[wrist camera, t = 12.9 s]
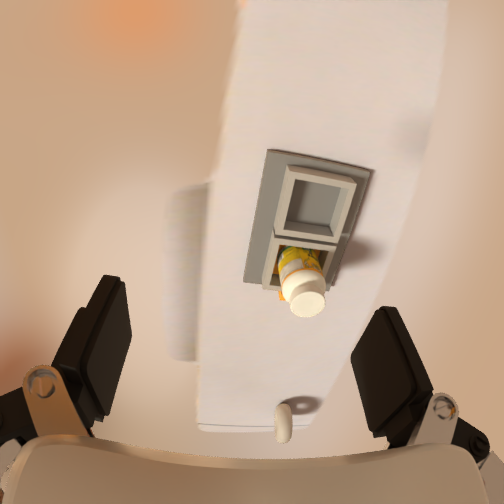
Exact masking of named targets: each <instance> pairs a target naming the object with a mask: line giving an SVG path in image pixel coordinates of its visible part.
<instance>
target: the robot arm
mask: <svg viewBox="0 0 504 504" xmlns="http://www.w3.org/2000/svg"><path fill="white" fill-rule="evenodd" d="M131 338H132V331H131V325H130V318H129V311H128V304H127V296H126V288H125V283H124V282H122V281H121V280H120V277H117V276H110V275H103V277H102V278H101V280H100V282H99V284H98V286H97V288H96V290H95V291H94V293H93V295H92V297H91V299H90V301H89V303H88V305H87V307H86V308H84V307H81V308H80V309H79V310H78V311H77V313H76V315H75V317H74V319H73V321H72V323H71V325H70V327H69V329H68V331H67V333H66V335H65V337H64V339H63V341H62V343H61V345H60V347H59V349H58V351H57V353H56V356H55V358H54V360H53V362H52V364H51V366H49V365H38V366H35V367H33V368H31V369H30V370H29V371H28V372H27V373H26V375H25V377H24V379H23V384H22V386H23V387H20V388H18V389H16V390H14V391H11V392H9V393H7V394H4V395H3V396H0V482H1V477H2V475H3V474H4V473H5V472H6V471H7V470H8V467H7V466H8V465H9V464H10V463H11V462H12V461H14V463H13V466H12V468H11V471H10V474H9V477H8V480H7V483H6V487H5V492H3V490H2V488H1V483H0V504H504V463H503V462H502V461H501V460H500V459H499V458H498V456H497V455H496V454H495V453H494V452H493V451H491V452H489V449H490V445H489V441H488V438H487V437H486V435H485V434H484V433H482V432H481V431H479V430H478V429H476V428H475V427H473V426H471V425H470V424H469V423H467V422H465V421H464V420H462V419H461V418H459V417H458V414H459V411H458V406H457V404H456V402H455V401H454V399H453V398H452V397H450V396H449V395H447V394H445V393H436V394H435V395H433V393H432V391H433V390H434V389H433V387H432V384H431V382H430V379H429V377H428V374H427V372H426V370H425V367H424V365H423V363H422V361H421V358H420V356H419V354H418V352H417V350H416V347H415V345H414V343H413V341H412V339H411V337H410V334H409V332H408V330H407V328H406V326H405V324H404V322H403V320H402V318H401V316H400V314H399V312H398V310H397V308H396V307H389V306H382V307H380V308H379V310H376V311H375V313H374V315H373V317H372V318H371V320H370V322H369V324H368V326H367V327H366V329H365V331H364V333H363V335H362V336H361V338H360V340H359V342H358V343H357V345H356V347H355V348H354V350H353V352H352V354H351V364H352V367H353V371H354V374H355V378H356V381H357V385H358V389H359V393H360V396H361V400H362V404H363V408H364V412H365V416H366V420H367V424H368V428H369V430H370V431H371V432H373V437H374V438H377V437H384V436H386V437H387V442H386V444H385V446H384V448H383V450H381V451H374V452H367V453H360V454H352V455H343V456H333V457H320V458H304V459H240V458H222V457H209V456H200V455H199V456H198V455H191V454H182V453H175V452H169V451H162V450H156V449H150V448H143V447H138V446H133V445H128V444H123V443H118V442H114V441H108V440H103V439H98V438H95V436H94V434H93V432H92V430H91V427H92V426H93V424H94V420H96V421H100V422H103V419H104V415H106V416H108V415H109V414H110V410H111V406H112V403H113V399H114V396H115V392H116V389H117V385H118V382H119V378H120V375H121V371H122V368H123V365H124V362H125V358H126V355H127V352H128V349H129V346H130V342H131Z"/></svg>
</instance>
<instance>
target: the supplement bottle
mask: <svg viewBox="0 0 504 504" xmlns="http://www.w3.org/2000/svg"><path fill="white" fill-rule="evenodd" d="M277 265H278V271H279V277H280V283H281V289H282V294H283V297H284V298H285V300H286V301H287V302H288V303H290V307H291V310H292V312H293V313H294V314H295V315H297V316H299V317H312V316H315V315H317V314H318V313H320V312H321V311H322V310H323V308H324V306H325V297H324V293H325V290H326V282H325V279H324V276H323V273H322V270H321V267H320V265H319V262H318V259H317V256H316V253H315V251H314V249H310V248H303V247H295V246H288V245H286V246H284V247H283V248H282V249H281V250H280V252H279V254H278V257H277Z"/></svg>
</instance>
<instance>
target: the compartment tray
mask: <svg viewBox="0 0 504 504" xmlns="http://www.w3.org/2000/svg"><path fill="white" fill-rule="evenodd" d="M369 175H370V172H369V171H368V170H367V169H362V168H358V167H354V166H350V165H345V164H341V163H337V162H332V161H327V160H323V159H318V158H313V157H308V156H303V155H297V154H292V153H286V152H281V151H275V150H269V149H267V153H266V159H265V164H264V169H263V175H262V180H261V185H260V191H259V196H258V201H257V207H256V212H255V217H254V223H253V228H252V233H251V239H250V244H249V250H248V255H247V260H246V266H245V271H244V277H243V282H246V283H255V284H262V289H265V290H275V291H279V298H280V300H285V298H284V297H283V294H282V289H281V283H280V277H279V271H278V265H277V257H278V254H279V252H280V250H281V249H282V248H283V247H284V246H286V245H288V246H295V247H303V248H310V249H314V251H315V253H316V256H317V259H318V262H319V265H320V267H321V270H322V273H323V276H324V279H325V282H326V290H325V291H329V290H330V287H331V285H332V282H333V279H334V277H335V274H336V272H337V269H338V266H339V264H340V261H341V258H342V256H343V253H344V250H345V247H346V245H347V242H348V239H349V236H350V233H351V230H352V228H353V225H354V222H355V219H356V216H357V213H358V210H359V207H360V204H361V201H362V198H363V194H364V191H365V188H366V185H367V182H368V178H369ZM285 301H286V300H285Z"/></svg>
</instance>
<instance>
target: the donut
mask: <svg viewBox="0 0 504 504" xmlns="http://www.w3.org/2000/svg"><path fill="white" fill-rule="evenodd" d="M291 435H292V412H291V408H290V406H289V405H288V404H285V403H283V404H279V405H278V406H277V407H276V410H275V437H276V440H277V441H278V442H280V443H283V444H284V443H287V442H288V441H289V440H290V438H291Z"/></svg>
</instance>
